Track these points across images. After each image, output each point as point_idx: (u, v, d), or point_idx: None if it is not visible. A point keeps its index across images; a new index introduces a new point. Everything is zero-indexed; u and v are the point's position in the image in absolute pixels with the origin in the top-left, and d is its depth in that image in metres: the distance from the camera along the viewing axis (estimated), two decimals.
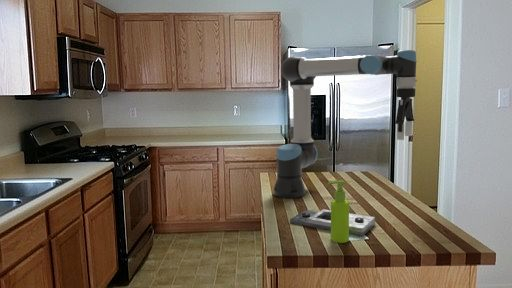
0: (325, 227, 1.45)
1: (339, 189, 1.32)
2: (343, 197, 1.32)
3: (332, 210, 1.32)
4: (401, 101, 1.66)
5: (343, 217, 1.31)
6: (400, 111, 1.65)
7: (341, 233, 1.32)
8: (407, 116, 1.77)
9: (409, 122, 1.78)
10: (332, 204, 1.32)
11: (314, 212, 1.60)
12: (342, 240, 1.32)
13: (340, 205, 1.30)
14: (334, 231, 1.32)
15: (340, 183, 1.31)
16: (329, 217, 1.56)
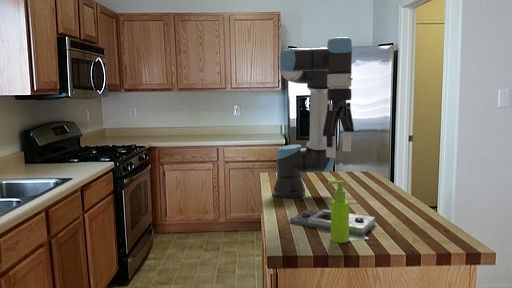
0: (325, 227, 1.45)
1: (339, 189, 1.32)
2: (343, 197, 1.32)
3: (332, 210, 1.32)
4: (330, 106, 1.23)
5: (343, 217, 1.31)
6: (329, 119, 1.23)
7: (341, 233, 1.32)
8: (344, 125, 1.35)
9: (347, 133, 1.35)
10: (332, 204, 1.32)
11: (314, 212, 1.60)
12: (342, 240, 1.32)
13: (340, 205, 1.30)
14: (334, 231, 1.32)
15: (340, 183, 1.31)
16: (329, 217, 1.56)
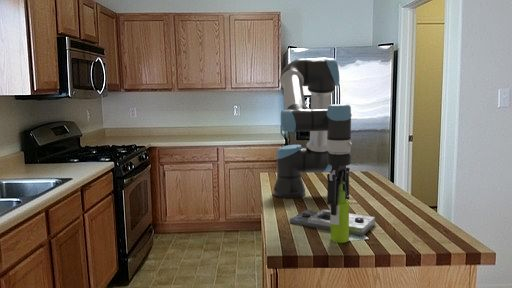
0: (325, 227, 1.45)
1: None
2: (343, 197, 1.31)
3: None
4: (330, 177, 1.26)
5: (343, 217, 1.31)
6: (331, 190, 1.27)
7: (341, 233, 1.32)
8: None
9: None
10: None
11: (314, 212, 1.60)
12: (342, 240, 1.32)
13: (340, 205, 1.30)
14: (334, 231, 1.32)
15: None
16: (329, 217, 1.56)
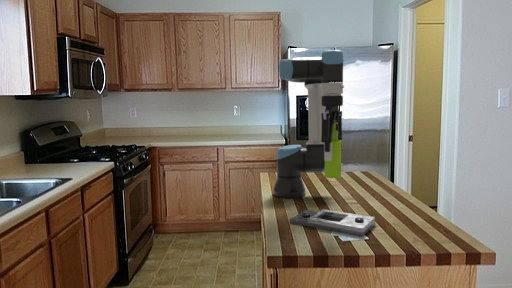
0: (325, 227, 1.45)
1: None
2: (336, 136, 1.44)
3: None
4: (324, 116, 1.39)
5: (335, 154, 1.44)
6: (325, 128, 1.40)
7: (333, 169, 1.44)
8: None
9: None
10: None
11: (314, 212, 1.60)
12: (335, 175, 1.45)
13: (333, 142, 1.43)
14: (328, 167, 1.45)
15: None
16: (329, 217, 1.56)
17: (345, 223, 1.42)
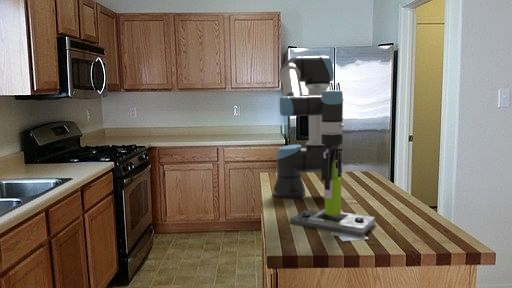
0: (325, 227, 1.45)
1: (332, 167, 1.46)
2: (336, 174, 1.46)
3: None
4: (324, 155, 1.41)
5: (335, 192, 1.46)
6: (324, 167, 1.42)
7: (333, 206, 1.46)
8: None
9: None
10: None
11: (314, 212, 1.60)
12: (335, 213, 1.47)
13: (333, 180, 1.45)
14: (328, 204, 1.47)
15: None
16: (329, 217, 1.56)
17: (345, 223, 1.42)
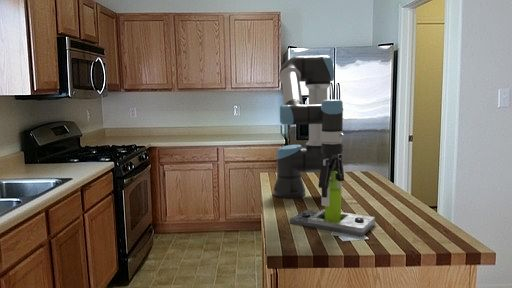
0: (325, 227, 1.45)
1: (332, 178, 1.47)
2: (336, 185, 1.47)
3: None
4: (324, 162, 1.41)
5: (335, 203, 1.46)
6: (323, 174, 1.41)
7: (333, 217, 1.47)
8: (336, 175, 1.52)
9: (338, 182, 1.53)
10: None
11: (314, 212, 1.60)
12: None
13: (333, 192, 1.46)
14: (328, 216, 1.48)
15: (333, 173, 1.47)
16: None
17: (345, 223, 1.42)
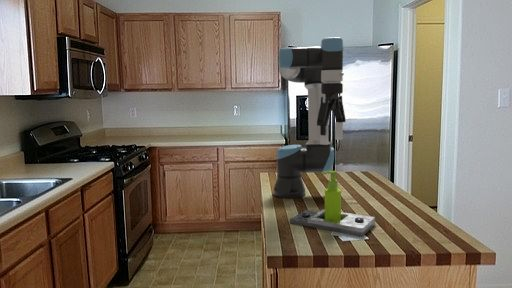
0: (325, 227, 1.45)
1: (332, 178, 1.47)
2: (336, 185, 1.47)
3: (326, 197, 1.48)
4: (324, 99, 1.39)
5: (335, 203, 1.46)
6: (322, 110, 1.38)
7: (333, 217, 1.47)
8: (337, 116, 1.50)
9: (339, 123, 1.51)
10: (326, 192, 1.48)
11: (314, 212, 1.60)
12: None
13: (333, 192, 1.46)
14: (328, 216, 1.48)
15: (333, 173, 1.47)
16: None
17: (345, 223, 1.42)
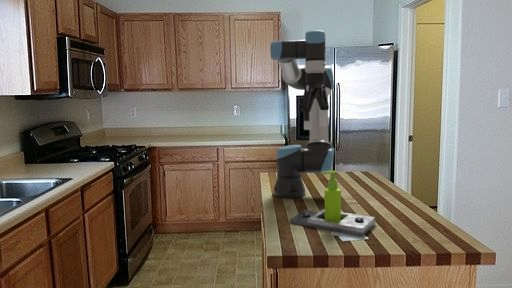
0: (325, 227, 1.45)
1: (332, 178, 1.47)
2: (335, 185, 1.47)
3: (326, 197, 1.48)
4: (307, 87, 1.50)
5: (335, 203, 1.46)
6: (306, 98, 1.49)
7: (333, 217, 1.47)
8: (320, 104, 1.61)
9: (323, 111, 1.62)
10: (326, 192, 1.48)
11: (314, 212, 1.60)
12: None
13: (333, 192, 1.46)
14: (328, 216, 1.48)
15: (333, 173, 1.47)
16: None
17: (345, 223, 1.42)
